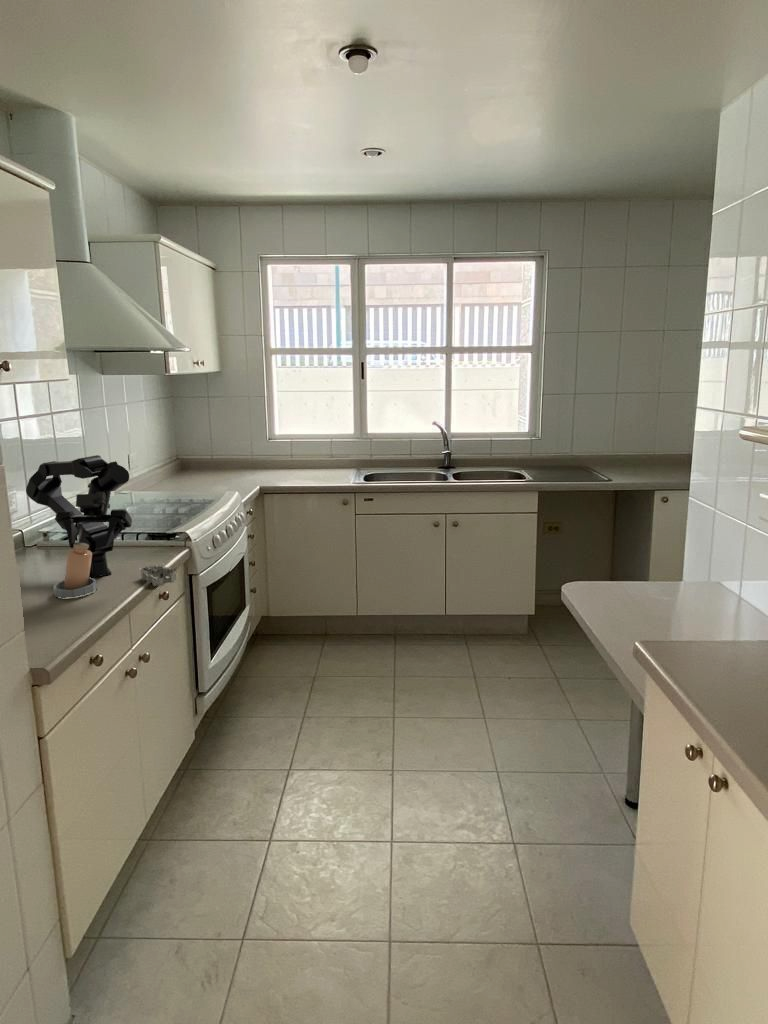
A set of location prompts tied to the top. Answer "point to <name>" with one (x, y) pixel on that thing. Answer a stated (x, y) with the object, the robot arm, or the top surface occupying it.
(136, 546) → the top surface
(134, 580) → the top surface
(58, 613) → the top surface
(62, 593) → the slate bowl
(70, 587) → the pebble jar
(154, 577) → the egg carton
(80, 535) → the robot arm
